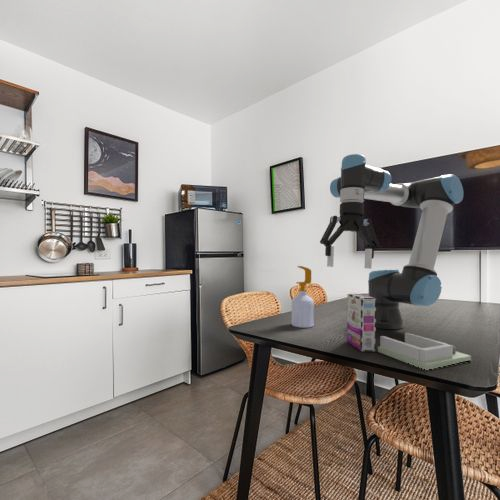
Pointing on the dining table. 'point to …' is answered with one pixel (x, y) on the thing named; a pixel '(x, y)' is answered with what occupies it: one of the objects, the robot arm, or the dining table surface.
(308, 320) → the soap bottle
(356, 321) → the candy bar box
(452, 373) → the dining table surface
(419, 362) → the white open tray
